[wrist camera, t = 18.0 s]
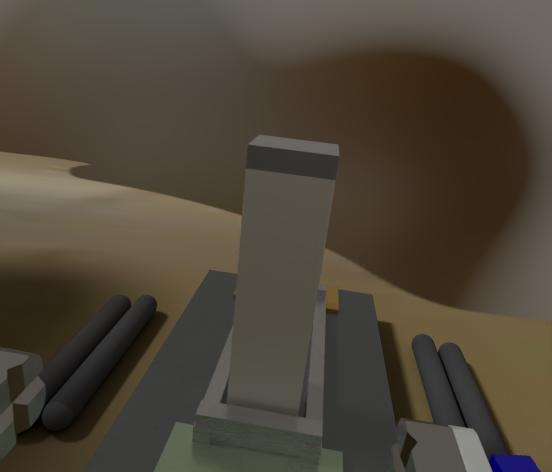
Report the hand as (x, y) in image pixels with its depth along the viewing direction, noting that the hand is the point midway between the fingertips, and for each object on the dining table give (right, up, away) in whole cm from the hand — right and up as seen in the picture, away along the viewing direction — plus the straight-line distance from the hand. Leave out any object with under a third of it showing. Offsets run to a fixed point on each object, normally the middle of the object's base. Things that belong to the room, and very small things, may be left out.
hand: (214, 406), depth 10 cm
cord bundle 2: (+11, -6, +14) cm, 18 cm away
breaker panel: (+1, -5, +14) cm, 15 cm away
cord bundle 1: (-9, -3, +15) cm, 18 cm away
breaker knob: (+1, -4, +10) cm, 11 cm away
